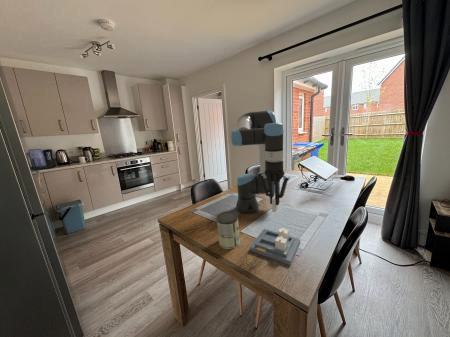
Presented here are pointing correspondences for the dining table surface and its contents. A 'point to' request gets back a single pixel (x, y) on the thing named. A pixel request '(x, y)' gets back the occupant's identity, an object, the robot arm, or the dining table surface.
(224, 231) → the coffee can
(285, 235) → the tab
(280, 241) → the tab
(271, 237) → the switch board
